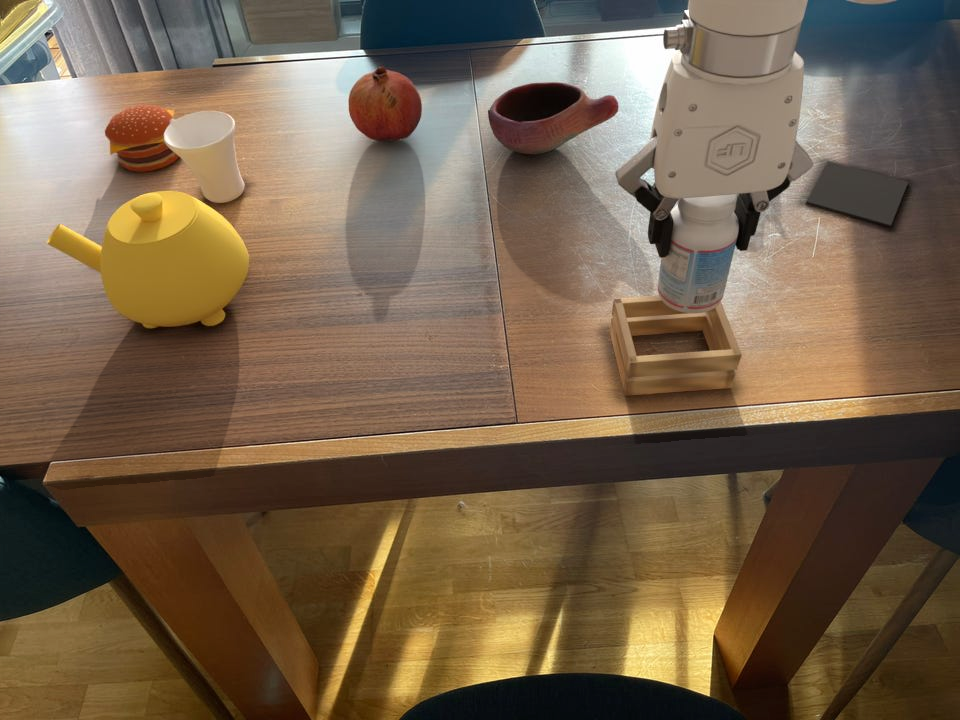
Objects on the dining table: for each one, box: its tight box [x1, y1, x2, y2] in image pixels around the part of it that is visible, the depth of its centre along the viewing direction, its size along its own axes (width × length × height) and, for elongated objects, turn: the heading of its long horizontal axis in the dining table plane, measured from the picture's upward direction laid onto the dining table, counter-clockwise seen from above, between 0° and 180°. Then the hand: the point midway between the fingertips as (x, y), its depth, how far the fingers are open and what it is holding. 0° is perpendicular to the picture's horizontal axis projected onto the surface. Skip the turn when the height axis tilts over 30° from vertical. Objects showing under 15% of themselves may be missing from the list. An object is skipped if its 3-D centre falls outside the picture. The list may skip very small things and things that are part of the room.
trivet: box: [805, 160, 909, 228], centre depth 93 cm, size 10×10×1 cm
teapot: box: [46, 190, 250, 329], centre depth 81 cm, size 20×16×14 cm
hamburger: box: [104, 104, 180, 173], centre depth 104 cm, size 9×10×7 cm
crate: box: [609, 294, 743, 397], centre depth 74 cm, size 11×9×5 cm
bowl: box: [487, 81, 620, 155], centre depth 101 cm, size 16×13×8 cm
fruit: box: [348, 66, 423, 142], centre depth 103 cm, size 11×10×10 cm
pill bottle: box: [657, 194, 739, 314], centre depth 64 cm, size 6×6×11 cm
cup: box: [164, 110, 246, 204], centre depth 96 cm, size 9×9×10 cm
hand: (698, 242), depth 64 cm, fingers closed on pill bottle, 6 cm apart
